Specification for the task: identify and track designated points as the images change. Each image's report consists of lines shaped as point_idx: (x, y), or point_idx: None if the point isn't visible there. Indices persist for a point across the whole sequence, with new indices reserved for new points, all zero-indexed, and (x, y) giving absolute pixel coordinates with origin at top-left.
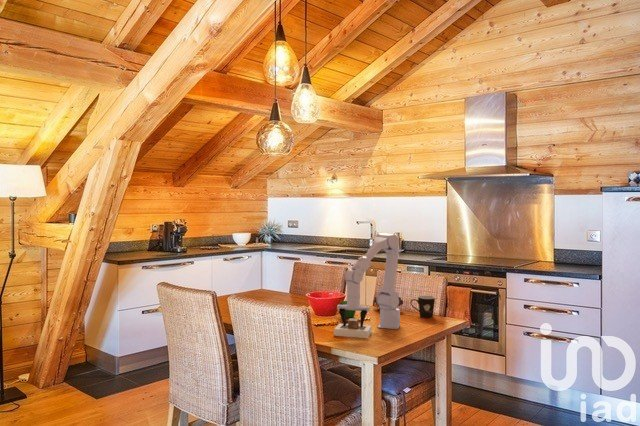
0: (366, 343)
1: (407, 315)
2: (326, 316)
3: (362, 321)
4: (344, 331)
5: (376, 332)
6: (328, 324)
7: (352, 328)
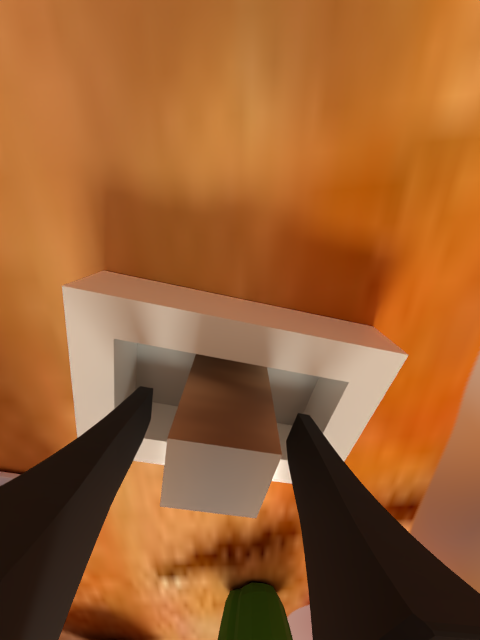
0: (75, 65)
1: None
2: None
3: (94, 428)
4: (305, 327)
5: None
6: None
7: (230, 380)
